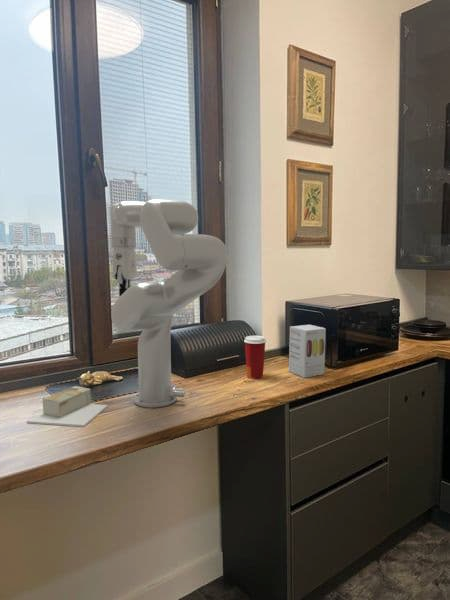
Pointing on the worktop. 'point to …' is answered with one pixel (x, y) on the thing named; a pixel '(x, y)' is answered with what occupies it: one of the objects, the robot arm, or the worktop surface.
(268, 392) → the worktop surface
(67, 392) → the skincare box
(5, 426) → the worktop surface
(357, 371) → the worktop surface
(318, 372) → the supplement box
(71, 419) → the mat
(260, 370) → the paper cup
